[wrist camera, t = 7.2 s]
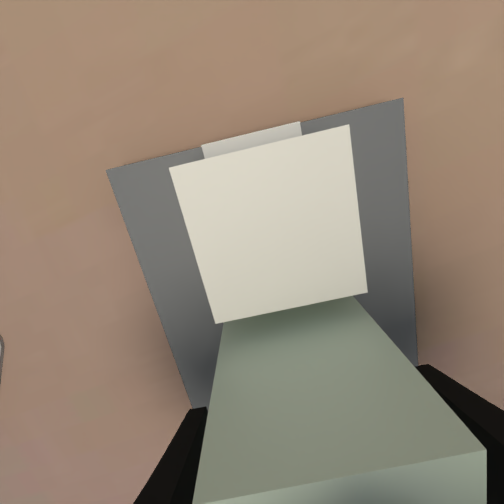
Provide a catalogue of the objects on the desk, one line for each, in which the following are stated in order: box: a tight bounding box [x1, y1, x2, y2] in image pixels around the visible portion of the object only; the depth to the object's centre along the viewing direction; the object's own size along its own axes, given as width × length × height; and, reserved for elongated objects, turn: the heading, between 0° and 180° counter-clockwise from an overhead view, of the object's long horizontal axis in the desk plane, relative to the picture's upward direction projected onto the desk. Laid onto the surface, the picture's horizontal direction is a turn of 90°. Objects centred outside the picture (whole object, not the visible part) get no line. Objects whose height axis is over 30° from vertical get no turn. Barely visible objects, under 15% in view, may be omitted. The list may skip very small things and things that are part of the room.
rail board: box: [106, 98, 418, 410], centre depth 11 cm, size 19×11×5 cm, turn 13°
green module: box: [192, 296, 487, 504], centre depth 8 cm, size 7×4×7 cm, turn 14°
